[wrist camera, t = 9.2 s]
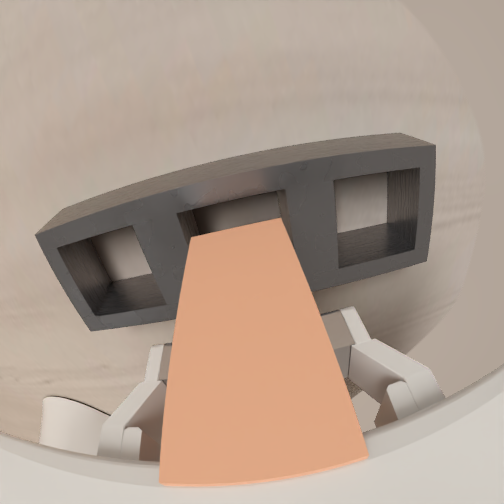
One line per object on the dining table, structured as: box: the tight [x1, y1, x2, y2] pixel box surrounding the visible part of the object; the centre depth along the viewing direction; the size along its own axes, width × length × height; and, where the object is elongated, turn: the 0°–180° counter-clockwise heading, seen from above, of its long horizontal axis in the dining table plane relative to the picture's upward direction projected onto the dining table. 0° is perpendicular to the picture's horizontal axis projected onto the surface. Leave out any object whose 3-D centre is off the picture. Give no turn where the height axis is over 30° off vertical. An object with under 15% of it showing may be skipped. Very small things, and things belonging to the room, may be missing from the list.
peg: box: [159, 218, 369, 487], centre depth 9 cm, size 4×4×10 cm
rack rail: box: [35, 133, 436, 331], centre depth 17 cm, size 8×24×4 cm, turn 101°
